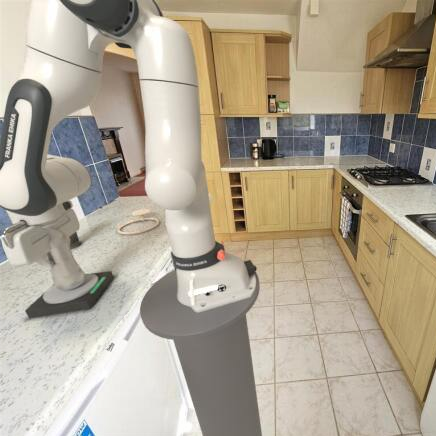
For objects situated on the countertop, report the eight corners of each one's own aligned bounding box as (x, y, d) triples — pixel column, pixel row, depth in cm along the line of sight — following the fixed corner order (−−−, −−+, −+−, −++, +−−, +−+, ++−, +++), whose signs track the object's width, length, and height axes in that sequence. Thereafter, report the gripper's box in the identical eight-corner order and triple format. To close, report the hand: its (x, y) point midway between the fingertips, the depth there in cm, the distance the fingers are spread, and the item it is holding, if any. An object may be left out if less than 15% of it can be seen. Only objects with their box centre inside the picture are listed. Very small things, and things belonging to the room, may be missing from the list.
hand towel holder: (109, 228, 101) (123, 211, 119) (112, 238, 103) (125, 219, 121) (153, 222, 106) (161, 206, 124) (156, 231, 107) (163, 214, 125)
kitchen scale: (114, 277, 77) (110, 268, 76) (90, 308, 65) (85, 299, 63) (63, 284, 75) (59, 275, 74) (29, 318, 62) (23, 308, 61)
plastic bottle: (67, 280, 71) (35, 218, 63) (93, 277, 72) (64, 215, 64) (52, 295, 65) (14, 229, 57) (80, 291, 66) (46, 225, 58)
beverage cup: (59, 246, 97) (37, 199, 89) (82, 240, 102) (63, 194, 94) (61, 253, 92) (38, 203, 84) (85, 245, 97) (65, 198, 89)
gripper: (16, 229, 51) (45, 283, 56) (75, 199, 69) (92, 241, 75) (-20, 233, 50) (12, 287, 55) (49, 201, 68) (68, 244, 74)
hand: (58, 260), depth 65 cm, fingers closed on plastic bottle, 5 cm apart
